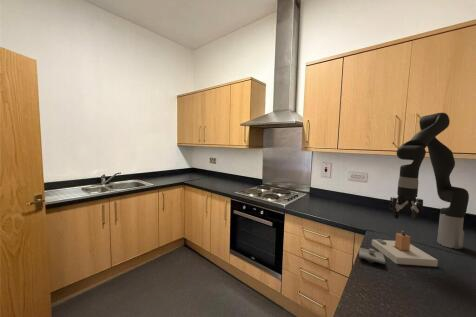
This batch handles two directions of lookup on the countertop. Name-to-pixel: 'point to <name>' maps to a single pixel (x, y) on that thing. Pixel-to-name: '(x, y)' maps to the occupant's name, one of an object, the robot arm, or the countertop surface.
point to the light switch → (371, 255)
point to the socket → (404, 254)
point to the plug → (402, 241)
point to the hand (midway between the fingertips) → (404, 218)
